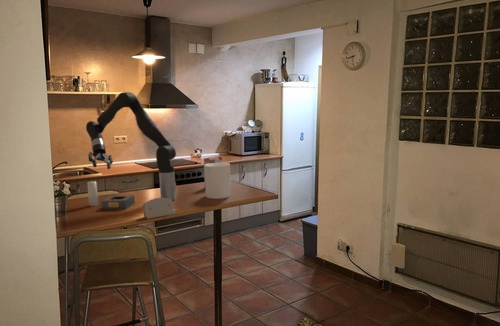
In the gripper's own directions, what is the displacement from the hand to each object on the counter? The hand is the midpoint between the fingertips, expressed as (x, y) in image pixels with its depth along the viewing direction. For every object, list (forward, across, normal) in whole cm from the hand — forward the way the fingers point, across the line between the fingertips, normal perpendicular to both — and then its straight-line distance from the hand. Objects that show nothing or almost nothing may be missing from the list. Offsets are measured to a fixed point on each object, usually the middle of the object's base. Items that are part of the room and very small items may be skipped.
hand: (102, 167), depth 246 cm
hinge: (+50, +12, -26) cm, 57 cm away
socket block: (+27, +6, +1) cm, 28 cm away
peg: (+18, -2, +14) cm, 23 cm away
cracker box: (+11, +76, -9) cm, 77 cm away
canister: (+33, +59, -26) cm, 73 cm away
